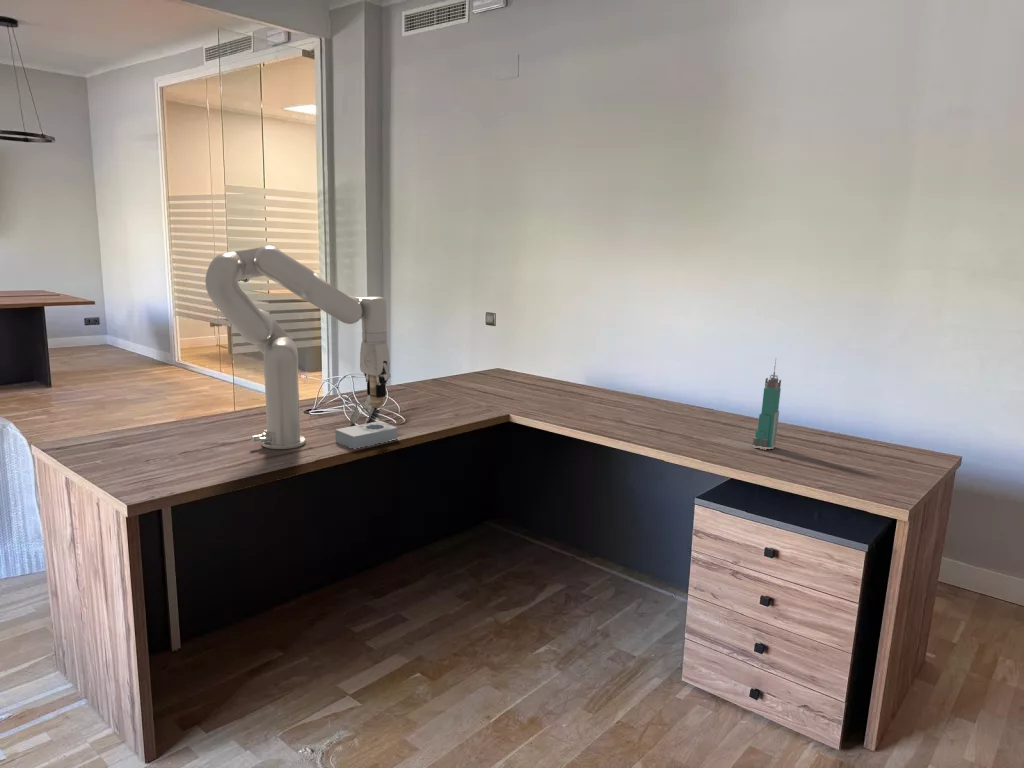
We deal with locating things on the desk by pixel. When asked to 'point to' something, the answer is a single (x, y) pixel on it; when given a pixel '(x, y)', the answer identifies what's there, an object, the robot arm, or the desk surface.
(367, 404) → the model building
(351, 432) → the board
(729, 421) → the desk surface
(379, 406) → the peg
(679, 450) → the desk surface
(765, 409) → the building
